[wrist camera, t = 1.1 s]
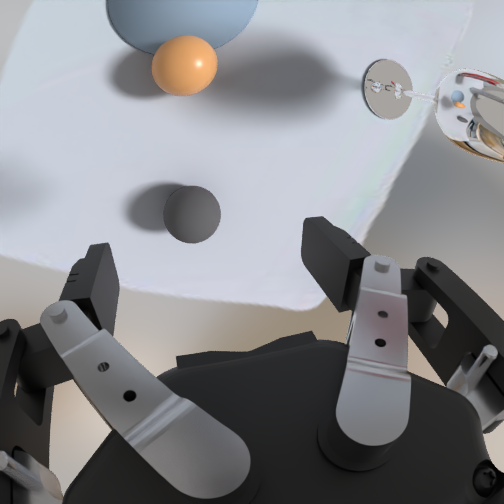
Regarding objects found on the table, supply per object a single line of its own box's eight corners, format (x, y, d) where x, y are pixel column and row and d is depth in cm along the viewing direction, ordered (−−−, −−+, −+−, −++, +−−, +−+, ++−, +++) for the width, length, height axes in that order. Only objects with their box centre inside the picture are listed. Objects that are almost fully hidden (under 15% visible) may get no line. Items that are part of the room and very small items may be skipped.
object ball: (152, 42, 21) (149, 33, 17) (212, 38, 22) (223, 29, 18) (154, 97, 24) (150, 101, 20) (212, 92, 25) (222, 95, 21)
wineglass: (353, 68, 27) (518, 99, 11) (401, 52, 26) (552, 80, 10) (373, 129, 31) (517, 200, 15) (417, 108, 31) (552, 164, 15)
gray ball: (160, 181, 29) (159, 202, 24) (214, 175, 30) (224, 195, 26) (166, 229, 32) (168, 258, 27) (217, 223, 33) (226, 250, 28)
